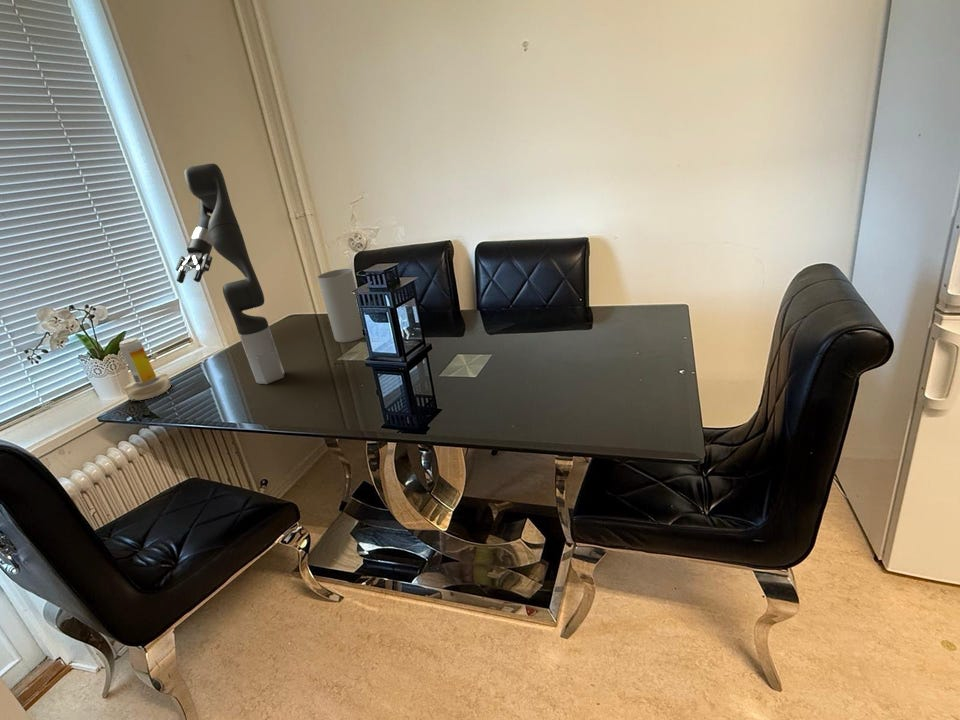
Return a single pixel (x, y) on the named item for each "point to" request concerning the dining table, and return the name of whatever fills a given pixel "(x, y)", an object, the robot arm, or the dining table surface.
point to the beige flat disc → (148, 388)
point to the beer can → (137, 361)
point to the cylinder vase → (341, 304)
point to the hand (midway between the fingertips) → (187, 281)
